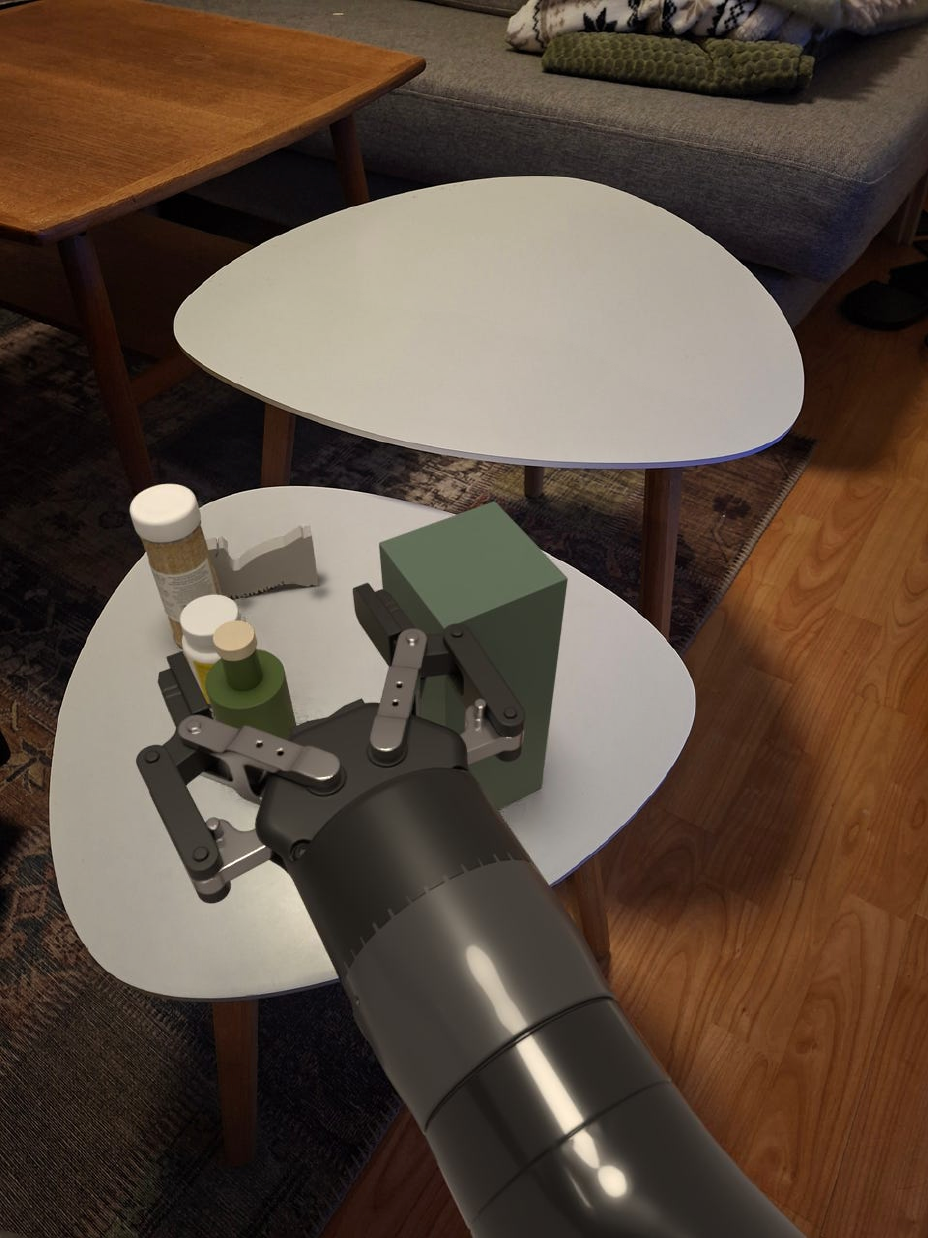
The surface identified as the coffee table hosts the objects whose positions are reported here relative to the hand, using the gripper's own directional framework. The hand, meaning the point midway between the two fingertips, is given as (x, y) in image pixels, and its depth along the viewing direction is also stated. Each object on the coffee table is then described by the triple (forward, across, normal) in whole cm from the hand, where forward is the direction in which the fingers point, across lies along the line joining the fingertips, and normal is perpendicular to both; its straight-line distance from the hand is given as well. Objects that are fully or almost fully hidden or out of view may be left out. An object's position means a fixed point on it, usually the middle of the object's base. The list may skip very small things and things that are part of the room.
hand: (272, 631), depth 39 cm
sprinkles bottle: (+25, 0, +24) cm, 35 cm away
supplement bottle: (+18, 0, +24) cm, 30 cm away
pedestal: (+3, -12, +24) cm, 27 cm away
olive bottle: (+11, 0, +24) cm, 26 cm away
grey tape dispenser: (+27, -6, +24) cm, 37 cm away
